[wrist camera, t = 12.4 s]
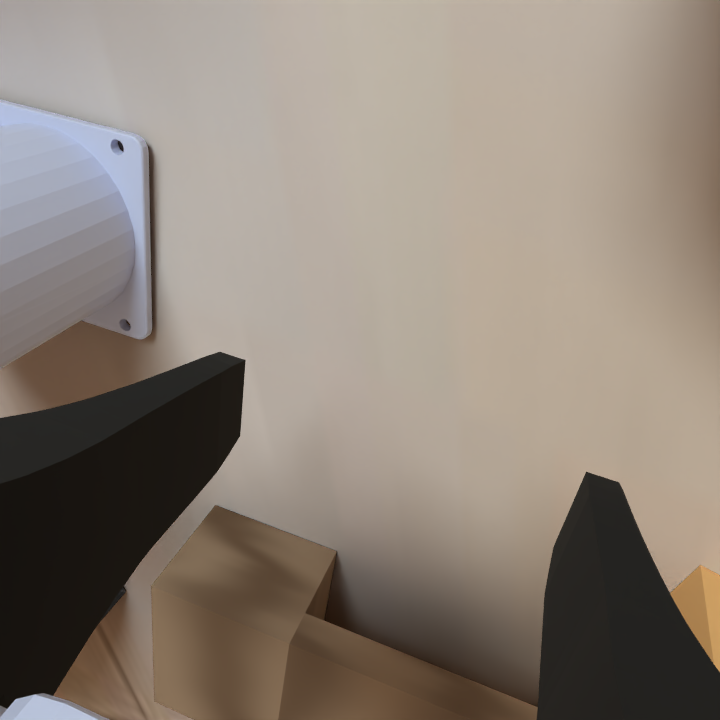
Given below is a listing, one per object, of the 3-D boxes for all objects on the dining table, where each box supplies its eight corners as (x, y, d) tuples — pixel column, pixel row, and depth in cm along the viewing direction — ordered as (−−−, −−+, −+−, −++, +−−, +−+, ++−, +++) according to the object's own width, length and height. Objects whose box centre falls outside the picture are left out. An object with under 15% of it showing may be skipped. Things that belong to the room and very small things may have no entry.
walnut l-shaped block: (210, 616, 35) (154, 701, 30) (215, 505, 30) (151, 585, 26) (553, 761, 31) (542, 880, 27) (613, 656, 27) (611, 778, 23)
